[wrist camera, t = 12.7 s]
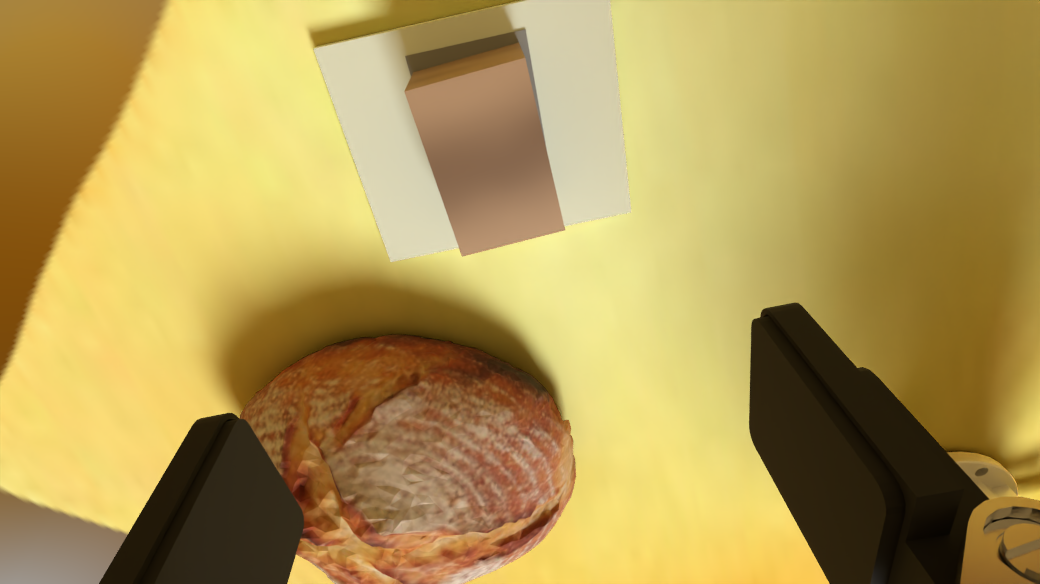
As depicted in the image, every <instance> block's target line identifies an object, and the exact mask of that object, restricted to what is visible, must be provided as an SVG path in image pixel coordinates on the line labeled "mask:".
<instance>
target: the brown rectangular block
mask: <svg viewBox="0 0 1040 584" xmlns="http://www.w3.org/2000/svg"><path fill="white" fill-rule="evenodd" d="M404 92H405V95H406V98H407V101H408V104H409V107H410V109H411V112H412V115H413V118H414V121H415V124H416V127H417V129H418V132H419V135H420V138H421V141H422V144H423V147H424V149H425V152H426V155H427V158H428V161H429V164H430V167H431V169H432V172H433V175H434V178H435V181H436V184H437V187H438V189H439V192H440V195H441V198H442V201H443V204H444V207H445V209H446V212H447V215H448V218H449V221H450V224H451V227H452V229H453V232H454V235H455V238H456V241H457V244H458V247H459V249H460V252H461V255H462V256H466V255H470V254H474V253H478V252H482V251H486V250H489V249H493V248H497V247H501V246H505V245H509V244H513V243H517V242H521V241H524V240H528V239H532V238H536V237H540V236H544V235H548V234H552V233H556V232H559V231H563V230H565V227H564V223H563V218H562V214H561V210H560V205H559V201H558V197H557V192H556V188H555V184H554V180H553V175H552V171H551V167H550V162H549V158H548V154H547V149H546V145H545V141H544V136H543V132H542V128H541V124H540V119H539V115H538V111H537V106H536V102H535V98H534V93H533V89H532V85H531V81H530V76H529V72H528V68H527V63H526V59H525V56H524V54H523V51H522V49H521V46H520V44H519V42H518V43H515V44H511V45H508V46H504V47H501V48H497V49H494V50H490V51H487V52H483V53H480V54H476V55H473V56H469V57H466V58H462V59H459V60H455V61H451V62H448V63H444V64H441V65H437V66H434V67H430V68H427V69H423V70H420V71H416V72H413V74H412V76H411V78H410V80H409V83H408V85H407V87H406V89H405V91H404Z"/></svg>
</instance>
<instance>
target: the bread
mask: <svg viewBox="0 0 1040 584" xmlns="http://www.w3.org/2000/svg"><path fill="white" fill-rule="evenodd" d="M239 419H244V420H246V421H247V422H248V423H249V425H250V426H251V428H252V430H253V431H254V433H255V435H256V436H257V438H258V439H259V441H260V443H261V444H262V446H263V447H264V449H265V451H266V452H267V454H268V456H269V457H270V459H271V460H272V462H273V464H274V465H275V467H276V468H277V470H278V472H279V473H280V475H281V477H282V478H283V480H284V481H285V483H286V485H287V486H288V488H289V490H290V491H291V493H292V494H293V496H294V498H295V499H296V501H297V502H298V504H299V506H300V507H301V509H302V511H303V515H304V528H303V532H302V535H301V539H300V542H299V545H298V549H297V552H296V555H298V556H300V557H302V558H304V559H306V560H308V561H309V562H311V563H312V564H313V565H315V566H316V567H317V568H319V569H320V570H321V571H323V572H324V573H326V575H327V577H328V578H329V579H330V580H331V581H332V582H333V583H335V584H463V583H466V582H469V581H471V580H473V579H476V578H478V577H480V576H483V575H485V574H488V573H490V572H492V571H495V570H497V569H499V568H501V567H503V566H505V565H507V564H509V563H511V562H513V561H514V560H516V559H518V558H520V557H521V556H523V555H524V554H526V553H527V552H529V551H530V550H531V549H533V548H534V547H535V546H537V545H538V544H539V543H540V542H541V541H542V540H543V539H544V538H545V537H546V535H547V534H548V533H549V532H550V531H551V529H552V528H553V527H554V525H555V524H556V522H557V520H558V519H559V517H560V516H561V513H562V512H563V510H564V508H565V506H566V504H567V503H568V501H569V499H570V498H571V495H572V492H573V488H574V483H575V478H576V469H575V458H574V455H573V439H572V436H571V435H570V432H571V426H570V423H569V420H565V421H562V419H561V415H560V412H559V411H558V409H557V407H556V405H555V403H554V400H553V398H552V397H551V396H550V394H549V393H548V391H547V390H546V389H545V388H544V387H543V386H542V385H541V384H540V383H539V382H538V381H537V380H536V379H535V378H534V377H532V376H531V375H530V374H528V373H526V372H524V371H522V370H520V369H517V368H514V367H512V366H511V365H510V364H509V363H506V362H502V361H501V360H499V359H497V358H496V357H492V356H490V355H489V354H487V353H485V352H483V351H481V350H478V349H476V348H471V347H465V346H462V345H459V344H455V343H452V342H450V341H441V340H436V339H429V338H422V337H420V336H412V335H387V336H381V337H377V338H372V337H363V338H358V339H353V340H348V341H344V342H339V343H336V344H333V345H330V346H326V347H325V348H323V349H322V350H320V351H317V352H315V353H312V354H310V355H308V356H306V357H304V358H302V359H301V360H299V361H298V362H296V363H294V364H293V365H291V366H289V367H287V368H286V369H285V370H283V371H282V372H281V373H280V374H279V375H278V376H277V377H276V378H275V379H273V380H272V381H271V382H270V383H268V384H267V385H266V386H265V387H264V388H263V389H262V390H260V391H258V392H257V393H256V394H255V396H254V397H253V398H252V399H251V400H250V401H249V402H248V403H247V404H246V406H245V408H244V410H243V411H242V413H241V415H240V418H239Z"/></svg>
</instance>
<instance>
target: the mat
mask: <svg viewBox="0 0 1040 584" xmlns="http://www.w3.org/2000/svg"><path fill="white" fill-rule="evenodd" d="M518 42H519V44H520V46H521V49H522V51H523V54H524V56H525V59H526V63H527V68H528V72H529V76H530V81H531V85H532V89H533V93H534V98H535V102H536V106H537V111H538V115H539V119H540V124H541V128H542V132H543V136H544V141H545V145H546V149H547V154H548V158H549V162H550V167H551V171H552V175H553V180H554V184H555V188H556V192H557V197H558V201H559V205H560V210H561V214H562V218H563V223H564V226H568V225H573V224H577V223H582V222H587V221H592V220H597V219H602V218H606V217H611V216H616V215H621V214H626V213H631V204H630V194H629V184H628V174H627V164H626V154H625V144H624V134H623V124H622V114H621V104H620V94H619V84H618V74H617V64H616V54H615V44H614V34H613V24H612V14H611V4H610V0H520V1H515V2H511V3H506V4H502V5H497V6H493V7H489V8H484V9H480V10H475V11H471V12H467V13H462V14H458V15H453V16H449V17H444V18H440V19H436V20H431V21H427V22H422V23H418V24H414V25H409V26H405V27H400V28H396V29H391V30H387V31H383V32H378V33H374V34H369V35H365V36H360V37H356V38H352V39H347V40H343V41H338V42H334V43H330V44H325V45H321V46H317V47H315V48H314V49H313V50H314V52H315V55H316V58H317V61H318V63H319V66H320V69H321V72H322V74H323V77H324V80H325V83H326V85H327V88H328V91H329V94H330V96H331V99H332V102H333V105H334V107H335V110H336V113H337V116H338V118H339V121H340V124H341V127H342V129H343V132H344V135H345V138H346V140H347V143H348V146H349V149H350V151H351V154H352V157H353V160H354V162H355V165H356V168H357V171H358V173H359V176H360V179H361V182H362V184H363V187H364V190H365V193H366V195H367V198H368V201H369V204H370V206H371V209H372V212H373V215H374V217H375V220H376V223H377V226H378V228H379V231H380V234H381V237H382V239H383V242H384V245H385V248H386V250H387V253H388V256H389V259H390V261H391V262H394V261H399V260H404V259H408V258H413V257H418V256H423V255H428V254H433V253H437V252H442V251H447V250H452V249H457V248H459V247H458V244H457V241H456V238H455V235H454V232H453V229H452V227H451V224H450V221H449V218H448V215H447V212H446V209H445V207H444V204H443V201H442V198H441V195H440V192H439V189H438V187H437V184H436V181H435V178H434V175H433V172H432V169H431V167H430V164H429V161H428V158H427V155H426V152H425V149H424V147H423V144H422V141H421V138H420V135H419V132H418V129H417V127H416V124H415V121H414V118H413V115H412V112H411V109H410V107H409V104H408V101H407V98H406V95H405V92H404V91H405V89H406V87H407V85H408V83H409V80H410V78H411V76H412V74H413V72H416V71H420V70H423V69H427V68H430V67H434V66H437V65H441V64H444V63H448V62H451V61H455V60H459V59H462V58H466V57H469V56H473V55H476V54H480V53H483V52H487V51H490V50H494V49H497V48H501V47H504V46H508V45H511V44H515V43H518Z"/></svg>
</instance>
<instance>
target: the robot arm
mask: <svg viewBox="0 0 1040 584" xmlns="http://www.w3.org/2000/svg"><path fill="white" fill-rule="evenodd" d="M749 429H750V435H751V438H752V441H753V444H754V446H755V448H756V450H757V452H758V453H759V455H760V457H761V459H762V461H763V463H764V464H765V466H766V468H767V470H768V472H769V474H770V475H771V477H772V479H773V481H774V483H775V484H776V486H777V488H778V490H779V492H780V494H781V495H782V497H783V499H784V501H785V503H786V505H787V506H788V508H789V510H790V512H791V514H792V516H793V517H794V519H795V521H796V523H797V525H798V526H799V528H800V530H801V532H802V534H803V536H804V537H805V539H806V541H807V543H808V545H809V547H810V548H811V550H812V552H813V554H814V556H815V558H816V559H817V561H818V563H819V565H820V567H821V568H822V570H823V572H824V574H825V576H826V578H827V579H828V581H829V583H830V584H1040V501H1039V500H1034V499H1029V498H1024V497H1018V488H1017V483H1016V481H1015V479H1014V478H1013V476H1012V475H1011V474H1010V473H1009V472H1008V471H1007V470H1006V469H1005V468H1004V467H1003V466H1002V465H1001V464H1000V463H999V462H997V461H996V460H994V459H992V458H991V457H988V456H985V455H981V454H978V453H970V452H946V451H945V450H944V449H943V448H942V447H941V446H940V445H939V443H938V442H937V441H936V440H935V439H934V438H933V437H932V436H931V435H930V434H929V433H928V431H927V430H926V429H925V428H924V427H923V426H922V425H921V424H920V423H919V422H918V421H917V419H916V418H915V417H914V416H913V415H912V414H911V413H910V412H909V411H908V410H907V409H906V407H905V406H904V405H903V404H902V403H901V402H900V401H899V400H898V399H897V398H896V397H895V395H894V394H893V393H892V392H891V391H890V390H889V389H888V388H887V387H886V386H885V385H884V383H883V382H882V381H881V380H880V379H879V378H878V377H877V376H876V375H875V374H874V373H873V372H871V371H870V370H869V369H866V368H863V367H861V368H857V367H856V366H855V365H854V364H853V363H852V362H851V361H850V360H849V358H848V357H847V356H846V355H845V354H844V353H843V352H842V351H841V349H840V348H839V347H838V346H837V345H836V344H835V343H834V342H833V340H832V339H831V338H830V337H829V336H828V335H827V334H826V333H825V331H824V330H823V329H822V328H821V327H820V326H819V325H818V324H817V322H816V321H815V320H814V319H813V318H812V317H811V316H810V315H809V313H808V312H807V311H806V310H805V309H804V308H803V307H802V306H801V305H800V304H799V303H791V304H786V305H781V306H775V307H770V308H765V309H763V310H762V312H761V317H760V318H757V319H754V320H753V321H752V326H751V369H750V413H749ZM303 528H304V515H303V511H302V509H301V507H300V506H299V504H298V502H297V501H296V499H295V498H294V496H293V494H292V493H291V491H290V490H289V488H288V486H287V485H286V483H285V481H284V480H283V478H282V477H281V475H280V473H279V472H278V470H277V468H276V467H275V465H274V464H273V462H272V460H271V459H270V457H269V456H268V454H267V452H266V451H265V449H264V447H263V446H262V444H261V443H260V441H259V439H258V438H257V436H256V435H255V433H254V431H253V430H252V428H251V426H250V425H249V423H248V422H247V421H246V420H244V419H239V418H238V417H237V416H236V415H235V414H233V413H226V414H221V415H216V416H211V417H206V418H201V419H199V420H197V421H196V422H195V423H194V424H193V425H192V427H191V429H190V430H189V432H188V434H187V436H186V437H185V439H184V441H183V442H182V444H181V446H180V447H179V449H178V451H177V452H176V454H175V456H174V458H173V459H172V461H171V463H170V464H169V466H168V468H167V469H166V471H165V473H164V474H163V476H162V478H161V480H160V481H159V483H158V485H157V486H156V488H155V490H154V491H153V493H152V495H151V496H150V498H149V500H148V502H147V503H146V505H145V507H144V508H143V510H142V512H141V513H140V515H139V517H138V518H137V520H136V522H135V524H134V525H133V527H132V529H131V530H130V532H129V534H128V535H127V537H126V539H125V541H124V542H123V544H122V546H121V548H120V549H119V551H118V552H117V554H116V556H115V557H114V559H113V561H112V563H111V564H110V566H109V568H108V569H107V571H106V573H105V574H104V576H103V578H102V579H101V581H100V583H99V584H287V582H288V579H289V575H290V572H291V569H292V565H293V562H294V559H295V555H296V552H297V549H298V545H299V542H300V539H301V535H302V532H303Z"/></svg>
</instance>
